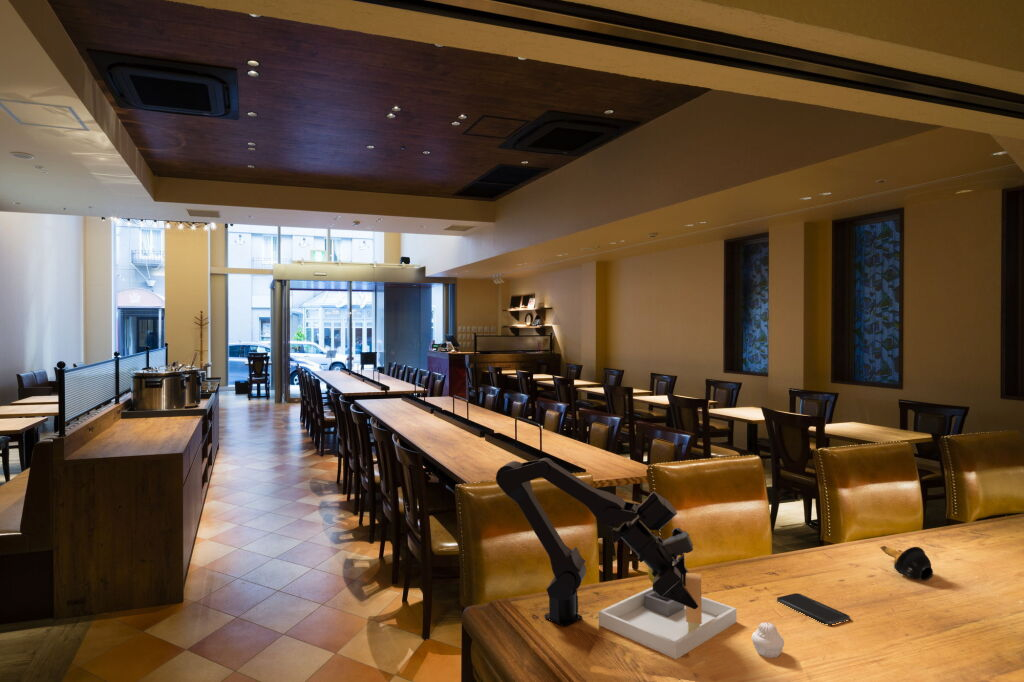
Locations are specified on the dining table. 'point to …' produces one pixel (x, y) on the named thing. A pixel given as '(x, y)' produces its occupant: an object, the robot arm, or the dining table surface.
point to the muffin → (767, 640)
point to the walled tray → (665, 622)
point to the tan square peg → (695, 590)
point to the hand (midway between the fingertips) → (696, 598)
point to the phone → (813, 609)
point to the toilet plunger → (911, 562)
